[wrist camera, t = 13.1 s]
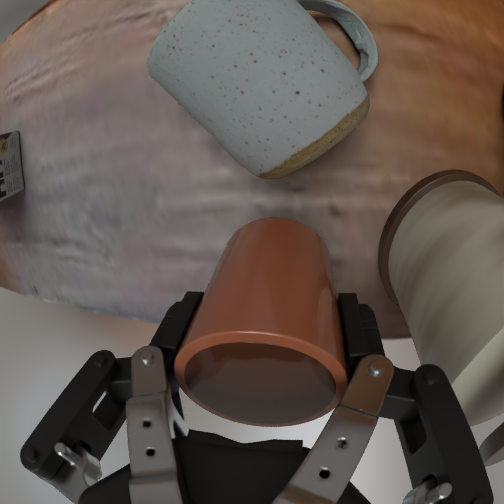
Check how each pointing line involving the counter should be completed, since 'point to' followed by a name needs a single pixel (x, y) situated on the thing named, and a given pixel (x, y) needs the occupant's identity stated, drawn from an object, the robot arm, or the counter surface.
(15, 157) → the coffee box
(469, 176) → the cream brown-capped cylinder
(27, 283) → the counter surface
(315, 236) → the terracotta cup
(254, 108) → the ceramic mug
